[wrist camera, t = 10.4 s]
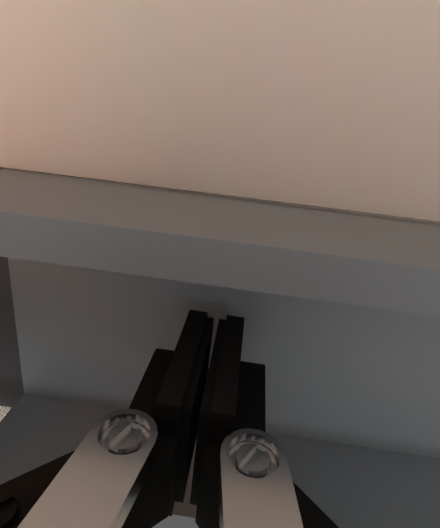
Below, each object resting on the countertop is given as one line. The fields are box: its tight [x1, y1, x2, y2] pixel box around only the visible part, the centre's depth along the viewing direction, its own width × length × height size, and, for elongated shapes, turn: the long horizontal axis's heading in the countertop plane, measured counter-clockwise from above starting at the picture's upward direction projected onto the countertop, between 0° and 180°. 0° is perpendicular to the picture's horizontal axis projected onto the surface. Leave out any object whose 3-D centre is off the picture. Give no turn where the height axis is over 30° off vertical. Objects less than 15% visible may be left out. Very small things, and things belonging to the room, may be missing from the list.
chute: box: [0, 168, 440, 528], centre depth 11 cm, size 18×9×4 cm, turn 84°
